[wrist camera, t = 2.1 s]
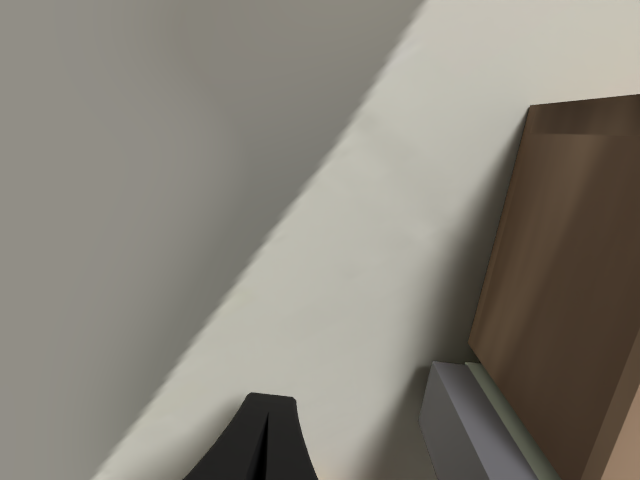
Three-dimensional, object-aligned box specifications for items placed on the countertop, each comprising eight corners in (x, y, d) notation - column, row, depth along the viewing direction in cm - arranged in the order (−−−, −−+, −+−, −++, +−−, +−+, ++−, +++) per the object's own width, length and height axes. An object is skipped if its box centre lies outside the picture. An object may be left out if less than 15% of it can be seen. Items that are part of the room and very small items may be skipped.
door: (646, 383, 14) (855, 547, 8) (622, 440, 14) (803, 626, 9) (430, 357, 14) (504, 509, 8) (416, 416, 14) (476, 594, 9)
